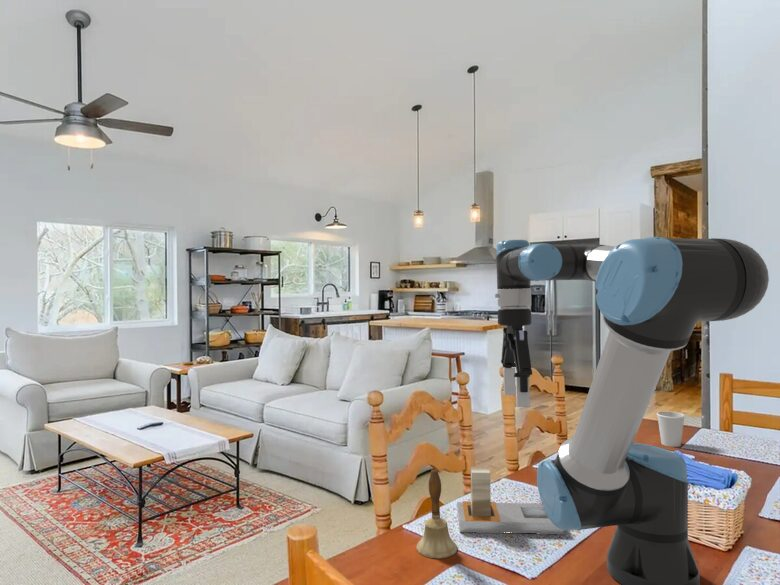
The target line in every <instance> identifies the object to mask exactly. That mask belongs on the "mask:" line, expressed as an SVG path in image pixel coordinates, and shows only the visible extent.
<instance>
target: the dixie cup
mask: <svg viewBox="0 0 780 585" xmlns="http://www.w3.org/2000/svg"><path fill="white" fill-rule="evenodd" d="M656 416H657V422H658V429H659V435H660V443H661V445H663V446H666V447H672V448H678V447H681V444H682V438H683V430H684V425H685V424H684V422H685V418H686V415H685V414H684V413H681V412H677V411H669V410H664V411H663V410H662V411H657V412H656Z"/></svg>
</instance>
